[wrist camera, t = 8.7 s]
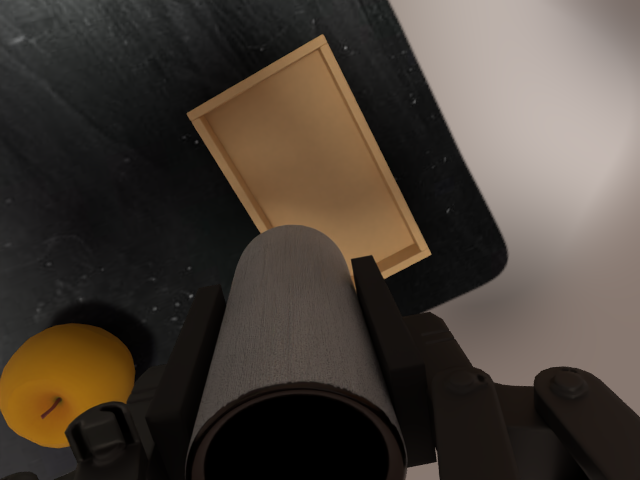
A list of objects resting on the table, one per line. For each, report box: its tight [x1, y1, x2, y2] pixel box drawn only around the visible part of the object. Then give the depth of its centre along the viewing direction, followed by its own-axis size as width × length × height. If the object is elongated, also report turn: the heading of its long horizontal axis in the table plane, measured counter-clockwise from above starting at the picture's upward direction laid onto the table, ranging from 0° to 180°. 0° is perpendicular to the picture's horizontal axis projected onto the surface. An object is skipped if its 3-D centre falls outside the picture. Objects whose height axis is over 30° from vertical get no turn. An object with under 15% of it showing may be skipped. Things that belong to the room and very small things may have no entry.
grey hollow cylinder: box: [185, 225, 407, 480], centre depth 14 cm, size 4×4×10 cm
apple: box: [0, 323, 135, 448], centre depth 34 cm, size 9×8×9 cm
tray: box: [187, 34, 431, 290], centre depth 34 cm, size 17×10×3 cm, turn 28°
